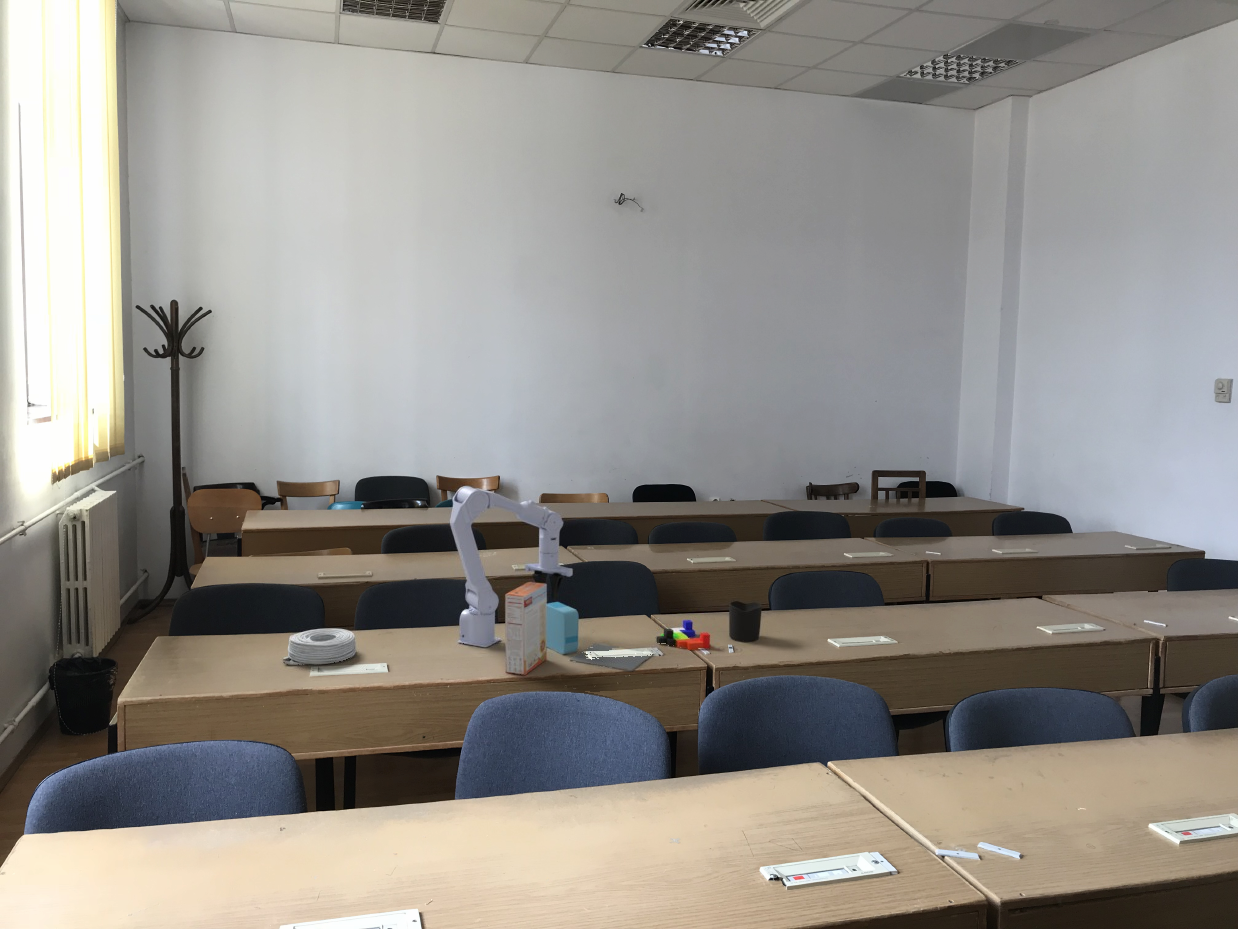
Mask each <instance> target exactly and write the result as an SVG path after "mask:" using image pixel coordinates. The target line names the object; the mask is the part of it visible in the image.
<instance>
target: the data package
mask: <svg viewBox="0 0 1238 929" xmlns="http://www.w3.org/2000/svg"><path fill="white" fill-rule="evenodd" d="M579 619H580V618H579V612H578V611H577V609H575V608H573V607H571V606H570V605H566V604H564V603H561V602H559V601H555V602H549V603H547V648H548V647H549V648H548V649H550V648H551V649H550V650H552V649H553V650H552V651H554V650H555V651H554V652H556V651H557V652H556V653H558V652H559V654H560V653H561V654H560V655H562V654H563V655H567V654H568V655H569V654H573V653H577V651H578V650H579Z"/></svg>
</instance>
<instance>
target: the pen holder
mask: <svg viewBox="0 0 1238 929" xmlns="http://www.w3.org/2000/svg"><path fill="white" fill-rule="evenodd" d="M728 609H729V610H728V614H729V615H728V622H729V623H728V628H729V630H728V631H729V632H728V633H729V637H730V639H731V640H733V641H736V642H741V643H743V642H744V643H751V642H756V641H758V640H759V638H760V632H761V625H762V624H761V622H762V609H763V605H762V603H760V602H759V601H758V602H757V601H753V602H747V603H746V602H742V601H739V600H734V601H733V600H732V601H730V602H729V606H728Z"/></svg>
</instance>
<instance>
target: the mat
mask: <svg viewBox="0 0 1238 929" xmlns="http://www.w3.org/2000/svg"><path fill="white" fill-rule="evenodd" d="M590 647H593V648H590ZM619 647H620V646H613V645H608V644H601V643H592V644H591V645H590V646H588V647H587V648H588V649H587V648H585V649H584V650H583V651H609V650H612V648H619ZM590 653H591V652H590ZM585 655H588V654H586V653H584V652H583V653H581V652H579V653H577V654H576V655H574V656H573V657H571V658H570V659H569V660H570V661H569V662H573V661H576V662H575V663H579V662H583V663H582V664H585V663H587V664H586V665H591V664H593V665H592V666H597V665H598V666H597V667H603V666H605V667H604V668H609V667H612V668H611V669H615V668H618V669H617V670H621V669H623V670H622V671H628V672H633V671H635V670H636V669H637V668H638V667H639V666H640V664H641V663H642V662H643V663H644V662H645V660H646V659H647V658H648V659H650V658H651V657H650V656H648V655H647V656H642V657H641V656H635V657H633V656H628V657H624V656H623V657H616V658H615V657H603V656H602V657H597V658H599V659H597V658H596V657H592V658H595V659H592V660H591V659H586V658H588V657H586V656H585ZM650 655H651V654H650ZM649 657H650V658H649ZM648 659H647V660H648ZM647 660H646V661H647ZM643 663H642V664H643ZM642 664H641V665H642ZM637 666H638V667H637ZM636 667H637V668H636Z"/></svg>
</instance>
